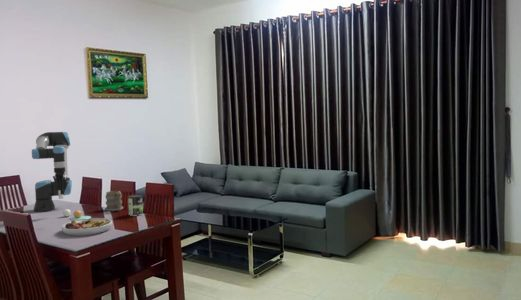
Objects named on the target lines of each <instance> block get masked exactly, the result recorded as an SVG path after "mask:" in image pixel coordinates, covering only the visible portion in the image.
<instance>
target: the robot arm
mask: <svg viewBox="0 0 521 300" xmlns="http://www.w3.org/2000/svg"><path fill="white" fill-rule="evenodd" d="M35 144H36V145H35V148H33V149H31V159H33V160H40V159H41V160H43V159H45V160H46V159H53V167H54V168H53V173H55V174H54V175H53V176H52V178H53V181H52V179H46V180H41V181H37V182H36V183H35V184H34V189H35V193H34V194H35V203H34V206H33V212H39V213H40V212H49V211H54V210H55V209H56V206H55V203H54V201H53V197H58V200H61V199H64V196H68V195H71V193H72V187H73V181H72V180H71V178H70V177H69V175H68V174H69V173H68V172H69V171H68V154H67V153H68V152H67V151H68V149H69V146H71V142H70V136H69V132H67V131H51V132H50V131H47V132H44V133H42V134H40V135H39V136H37V137H36V139H35ZM48 147H51V148H48Z"/></svg>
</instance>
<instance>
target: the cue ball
mask: <svg viewBox="0 0 521 300" xmlns="http://www.w3.org/2000/svg"><path fill="white" fill-rule="evenodd" d="M71 214H72V212H71V209H68V208H65V209H64V210H63V211H62V215H63V216H64V217H66V218H67V217H70V216H71Z"/></svg>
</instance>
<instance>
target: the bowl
mask: <svg viewBox="0 0 521 300" xmlns="http://www.w3.org/2000/svg"><path fill="white" fill-rule="evenodd" d="M112 225H113V221H112V220H111V219H110V218H107V217H106V218H104V217H91V218H88V219H80V220H70V221H67V222H65V223H63V224H61V231H62V232H63V233H64V235H65V234H66V235H67V236H77V237H80V236H92V235H97V234H102V233H104V232H107V231H108V230H109V229H111V227H112ZM101 232H102V233H101Z"/></svg>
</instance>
